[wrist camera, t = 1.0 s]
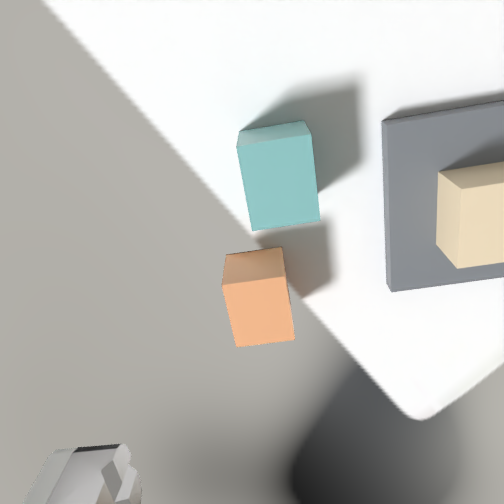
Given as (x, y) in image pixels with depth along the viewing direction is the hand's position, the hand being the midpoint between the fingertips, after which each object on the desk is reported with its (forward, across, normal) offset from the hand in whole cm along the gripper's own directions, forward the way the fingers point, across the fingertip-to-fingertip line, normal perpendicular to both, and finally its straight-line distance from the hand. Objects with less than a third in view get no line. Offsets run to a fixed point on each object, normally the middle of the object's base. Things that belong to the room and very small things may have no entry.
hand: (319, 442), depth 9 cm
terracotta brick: (+27, +3, +10) cm, 29 cm away
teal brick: (+26, 0, 0) cm, 26 cm away
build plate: (+26, -14, +5) cm, 30 cm away
